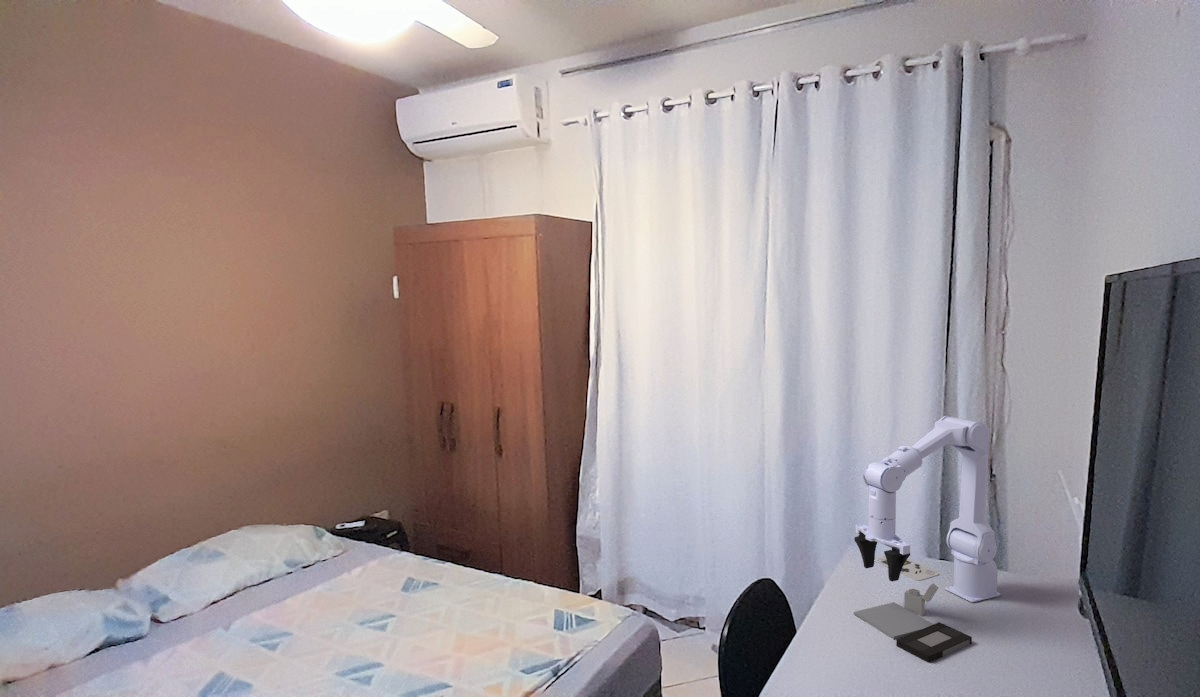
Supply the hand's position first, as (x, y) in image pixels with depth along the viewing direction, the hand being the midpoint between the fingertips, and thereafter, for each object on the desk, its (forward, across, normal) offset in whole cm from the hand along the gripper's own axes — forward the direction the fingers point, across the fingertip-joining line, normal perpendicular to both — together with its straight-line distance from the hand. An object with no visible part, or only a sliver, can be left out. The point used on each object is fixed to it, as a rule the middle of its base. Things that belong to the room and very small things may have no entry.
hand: (881, 573), depth 152 cm
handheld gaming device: (+11, -18, +26) cm, 33 cm away
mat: (+10, +3, +1) cm, 11 cm away
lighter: (+10, +3, +9) cm, 14 cm away
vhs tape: (+11, +14, +1) cm, 18 cm away
